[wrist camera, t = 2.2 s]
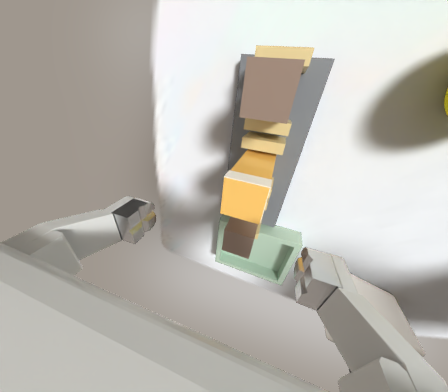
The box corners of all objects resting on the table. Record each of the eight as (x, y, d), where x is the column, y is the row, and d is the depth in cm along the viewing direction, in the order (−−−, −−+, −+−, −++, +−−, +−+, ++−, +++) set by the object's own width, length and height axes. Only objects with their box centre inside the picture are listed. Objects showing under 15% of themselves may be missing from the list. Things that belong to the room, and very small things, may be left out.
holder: (244, 56, 16) (206, 17, 8) (331, 61, 14) (381, 16, 7) (225, 208, 26) (200, 251, 19) (274, 222, 24) (269, 276, 17)
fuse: (278, 149, 18) (270, 188, 10) (271, 174, 20) (259, 225, 11) (251, 144, 19) (223, 176, 11) (246, 168, 20) (219, 213, 12)
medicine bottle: (355, 310, 28) (393, 424, 18) (317, 290, 28) (333, 389, 19) (394, 294, 24) (470, 430, 14) (348, 271, 24) (389, 385, 15)
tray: (301, 232, 24) (302, 245, 22) (281, 272, 29) (281, 285, 27) (224, 210, 26) (219, 220, 24) (219, 250, 32) (215, 261, 30)
